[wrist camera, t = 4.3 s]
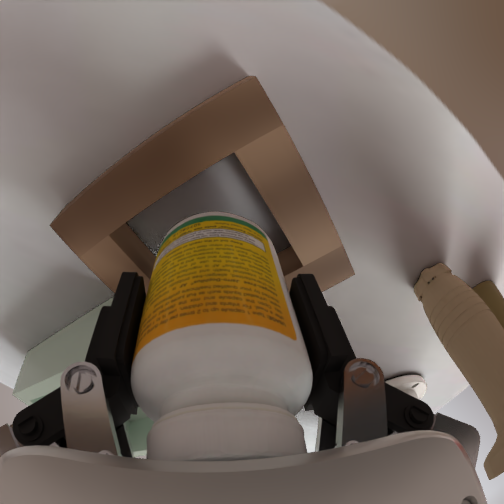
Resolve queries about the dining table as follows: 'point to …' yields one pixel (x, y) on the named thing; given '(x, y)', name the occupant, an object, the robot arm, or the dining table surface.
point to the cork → (492, 299)
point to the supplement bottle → (220, 347)
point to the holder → (189, 165)
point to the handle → (469, 344)
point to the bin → (58, 359)
